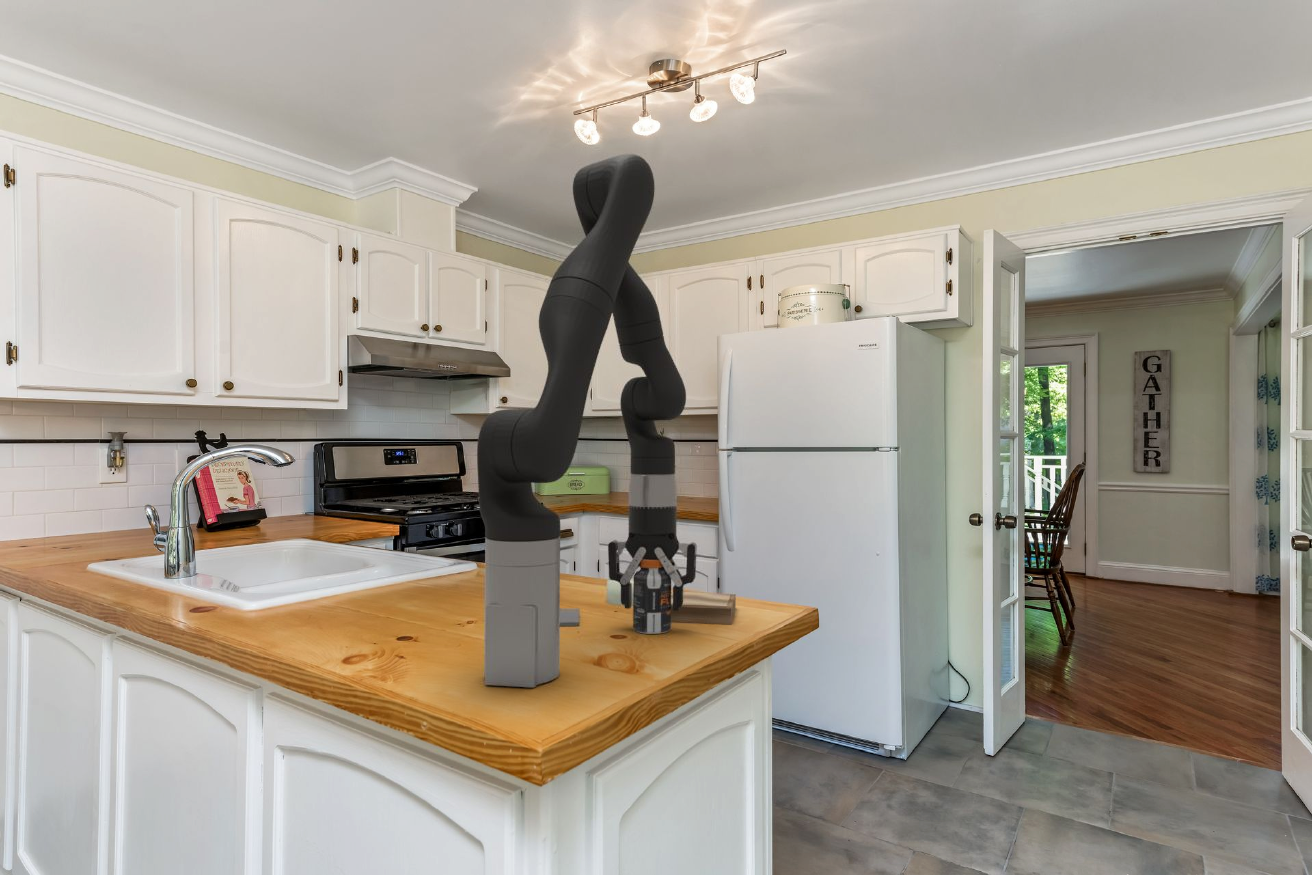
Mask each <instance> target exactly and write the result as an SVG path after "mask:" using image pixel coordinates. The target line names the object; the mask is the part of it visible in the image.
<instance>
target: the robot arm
mask: <svg viewBox="0 0 1312 875" xmlns="http://www.w3.org/2000/svg"><path fill="white" fill-rule="evenodd" d="M655 187H656V186H655V178H654V173H653V171H652V168H651V166H650V165H649V163H648V162H647V161H646V160H645V158H643V157H642V156H641V155H637V154H634V153H624V154H620V155H615V156H612V157H609V158H606V159H603V160H599V161H597V162H593V163H590V164H588V165H585V166H584V167H581V168H580V169H579V170H578V171H577V172H576V173H575V176H574V178H573V181H572V195H573V202H574V206H575V209H576V212H577V215H578V219H579V222H580V224H581V227H582V231H583V233H584V235H585V237H584V238H583V239H582V240H581V242H579V243H578V244H577V246H576V247H575V248H574V249H573V250H572V251H571V252H570V253H569V254H568V255H567V257H566V258H564V260H563V261H562V263H561V264H560V265H559V267H558V268H557V269H556V271H555V273H554V274H553V275H552V278H551V281H550V282H549V285H548V288H547V290H546V294H545V296H544V299H543V302H542V305H541V307H540V310H539V316H538V330H539V331H538V332H539V334H540V339H541V343H542V345H543V349H544V352H545V355H546V360H547V368H548V370H547V375H546V379H545V384H544V386H543V390H542V393H541V395H540V398H539V399H538V400H539V401H538V402H537V404H536V406H535V407H534V408H509V409H508V408H507V409H499V410H497V411H494V412H492V413H490V414H489V415H488V416H487V417H486V418H485V419H484V421H483V423H482V426H481V427H480V430H479V434H478V439H477V447H476V459H477V463H476V465H477V467H476V468H477V482H478V483H477V484H478V485H477V486H478V487H477V488H478V489H477V490H478V505H479V506H478V507H479V513H480V516H481V518H482V521H483V524H484V530H485V531H484V532H485V534H484V535H485V536H484V537H485V538H484V539H485V540H484V541H485V542H484V549H485V550H484V552H485V553H484V554H485V555H484V557H485V558H484V559H485V560H484V633H483V634H484V643H483V644H484V646H483V647H484V650H483V651H484V653H483V654H484V655H483V656H484V658H483V660H484V666H483V667H484V670H483V671H484V673H483V675H484V685H487V686H501V687H504V686H505V687H517V688H520V687H522V688H536V687H537V686H538V685H541V684H545V683H548V682H550V681H553V680H555V679H557V677H559V675H560V651H561V650H560V642H561V641H560V640H561V639H560V637H561V635H560V634H561V633H560V631H561V630H560V629H561V628H560V627H561V626H560V609H561V607H560V605H561V604H560V600H561V599H560V598H561V592H560V591H561V590H560V589H561V588H560V586H561V584H560V583H561V578H560V577H561V518H560V516H559V515H558V513H556V512H555V511H554V510H552V509H551V508H548V507H547V506H545V505H543V504H542V503H541V502H540V501H539V500H538V498H536V496H535V495H534V492H533V486H532V484H533V483H534V484H549V483H553V482H554V483H555V482H557V481H559V480H560V479H561V478H563V477H564V475H565V474H567V472H568V470H569V468H570V466H571V464H572V461H573V459H574V456H575V453H576V450H577V445H578V441H579V436H580V432H581V427H582V423H583V418H584V412H585V407H586V404H587V403H586V401H587V397H588V394H589V388H590V385H591V380H592V377H593V374H594V371H595V368H596V363H597V360H598V357H599V353H600V351H601V347H602V344H603V341H604V338H605V335H606V333H607V330H608V327H609V324H610V321H611V317H613V321H614V327H615V331H616V335H617V341H618V346H619V350H620V351H619V352H620V355H621V357H622V359H623V360H624V361H625V362H626V363H627V364H628V363H629V364H632V365H636V366H638V367H639V368H641V370H642V372H643V373H644V375H645V376H636V377H632V378H631V379H629V380H628V381H627V382H626V383H625V385H624V386H623V388H622V391H621V395H620V405H619V406H620V410H621V412H620V413H621V416H622V420H623V424H624V428H625V433H626V437H627V440H628V442H629V447H630V477H629V484H628V534H627V535H628V537H627V540H626V541H618V540H616V539H614V540H612V541H610V542H609V543H608V544H607V552H608V553H607V554H608V577H609V578H608V579H611V580H615V581H617V582H619V583H620V585H621V603H622V605H625V606H624V609H627V610H628V609H629V610H630V609H631V608H632V606H631V605H632V583H630V580H631V578H632V577H634V575H635V573H636V572H637V571H638V569H639V568H640V565H641V560H642V559H652V560H660V562H661V563H662V566H663V568H665V570H666V572H667V573H668V575H669V576H670V577H671V582H673V583H674V585H673V587H672V592H673V611H678V610H679V607H681V606H682V604H683V592H684V586H685V585H688V584H692V583H693V582H694V580H695V579H696V574H697V573H696V572H697V570H696V568H697V548H698V546H697V544H696V542H693V541H692V542H690V543H687V542H680V541H679V540H678V537H677V516H678V515H677V510H678V509H677V504H678V495H677V481H676V446H675V442H674V441H673V439H672V438H670V437H668V436H664V435H661V434H659V432H658V430H657V426H656V424H655V422H656V421H671V420H676V419H677V418H679V417H680V416H681V415H682V413H683V412H684V409H685V407H686V402H687V393H686V387H685V384H684V381H683V378H682V376H681V374H680V371H679V370H678V368H677V366H676V364H675V362H674V359H673V357H672V355H671V352H670V351H669V349H668V347H667V345H666V342H665V341H666V340H665V336H664V331H663V326H662V320H661V314H660V311H659V307H658V303H657V302H656V299H655V297H654V295H653V293H652V291H651V290H650V288H649V287H648V286H647V284H646V283H645V282H644V281H643V279H642V278H641V276H639V274H638V273H637V272H636V270H635V269H634V267H633V266H632V265H631V264H630V262H629V261H630V259H631V257H632V256H631V255H632V254H633V250H634V249H635V246H636V243H637V241H638V239H639V237H640V236H641V233H642V231H643V228H644V226H645V224H646V222H647V220H648V218H649V215H650V213H651V210H652V208H653V204H654V198H655V190H656V188H655ZM624 549H626V551H627V552H628V554H629V556H630V557H631V558H632V559H631V561H630V563H629V565H628V566H627V568H626V569H625V571H624V573H623V572H620V568H621V567H620V566H621V565H620V556H621V555H622V554H623V553H624ZM678 551H681V554H682V557H684V558H686V572H685V574H684V575H682V574H681V571H680V569H679V567H678V566H677V563H676V562H675V561H674V557H675V555H676V553H677V554H678ZM622 605H621V606H622Z"/></svg>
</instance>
